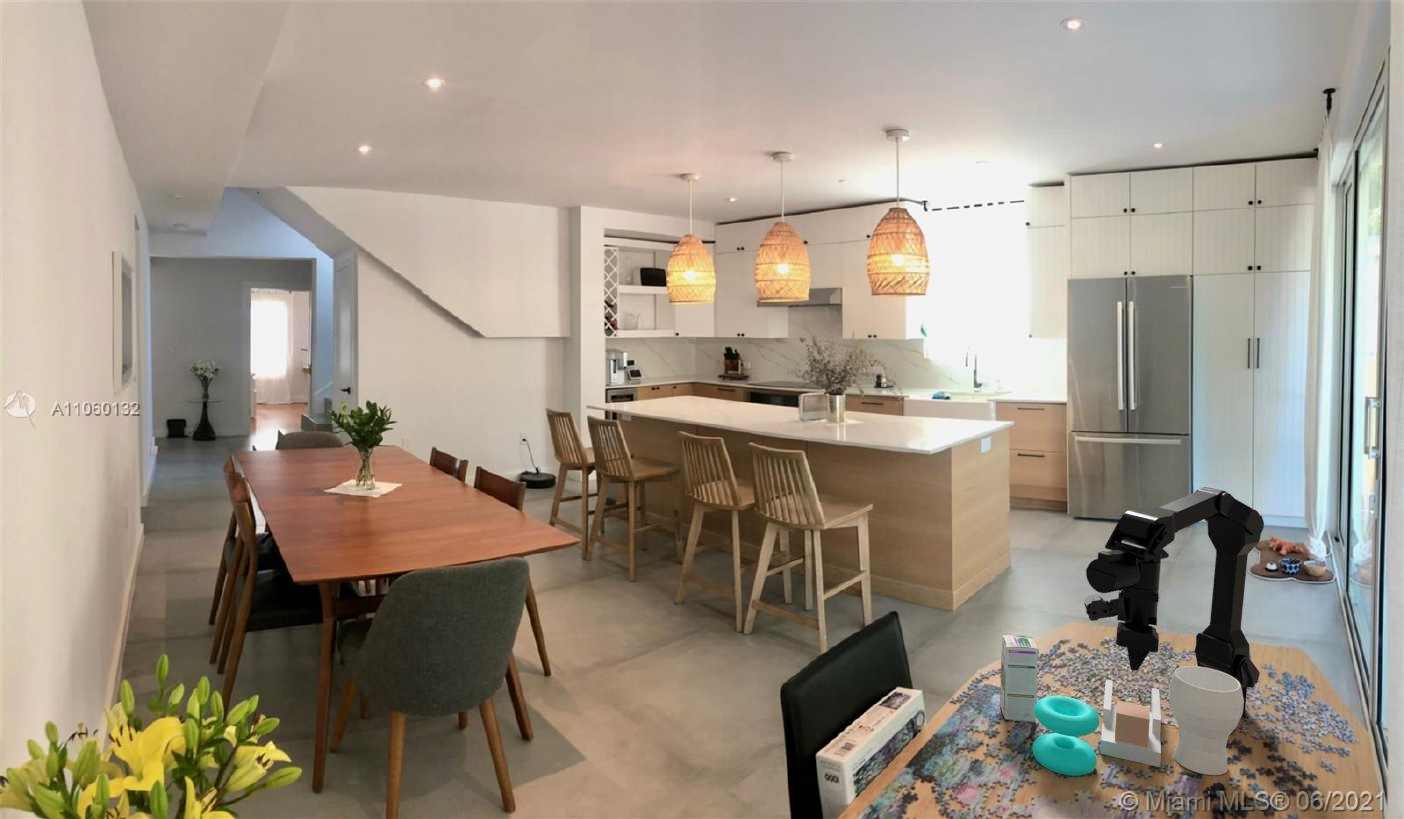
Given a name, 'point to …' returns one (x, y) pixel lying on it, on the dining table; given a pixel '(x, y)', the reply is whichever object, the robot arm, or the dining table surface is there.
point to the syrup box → (1018, 678)
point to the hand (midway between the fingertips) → (1134, 669)
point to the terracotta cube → (1132, 723)
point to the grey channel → (1125, 749)
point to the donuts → (1065, 735)
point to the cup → (1204, 716)
